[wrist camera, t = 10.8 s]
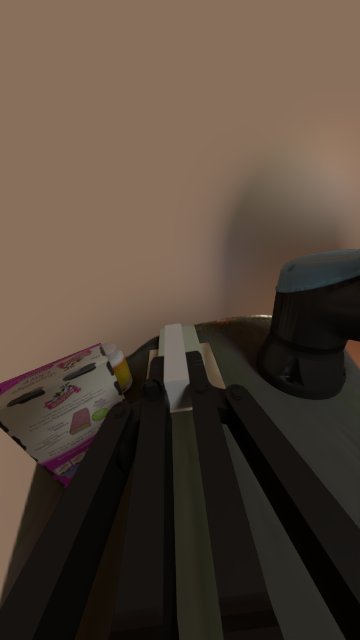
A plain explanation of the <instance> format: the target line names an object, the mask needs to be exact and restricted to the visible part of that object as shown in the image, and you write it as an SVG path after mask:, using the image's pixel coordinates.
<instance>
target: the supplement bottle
mask: <svg viewBox="0 0 360 640" xmlns="http://www.w3.org/2000/svg"><path fill="white" fill-rule="evenodd" d="M102 347H103V349H104V351H105V353H106V355H107V357H108V359H109V362H110V364H111V366H112V369H113V371H114V373H115V376H116V378H117V381H118V383H119V385H120V388H121V390H122V393H124V392H125V391H127V390H128V389H129V388H130V386H131V385H132V376H131V373H130V370H129V367H128V365H127V362H126V359H125V356H124V353H123V352H122V351H121V350H119V349H118V348H117V346H116V344H114V343H107V344H104V345H102Z"/></svg>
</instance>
